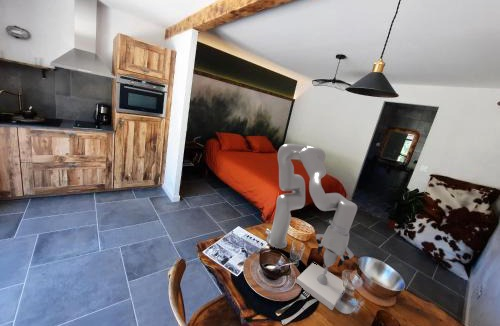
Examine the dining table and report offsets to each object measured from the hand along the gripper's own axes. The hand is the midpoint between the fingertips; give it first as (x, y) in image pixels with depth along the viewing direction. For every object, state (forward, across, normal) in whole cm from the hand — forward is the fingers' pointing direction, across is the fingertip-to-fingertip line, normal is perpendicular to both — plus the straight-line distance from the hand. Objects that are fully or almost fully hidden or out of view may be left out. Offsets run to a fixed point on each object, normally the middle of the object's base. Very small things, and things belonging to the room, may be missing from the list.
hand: (328, 259), depth 100 cm
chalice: (+12, 0, 0) cm, 12 cm away
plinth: (+15, +1, 0) cm, 15 cm away
